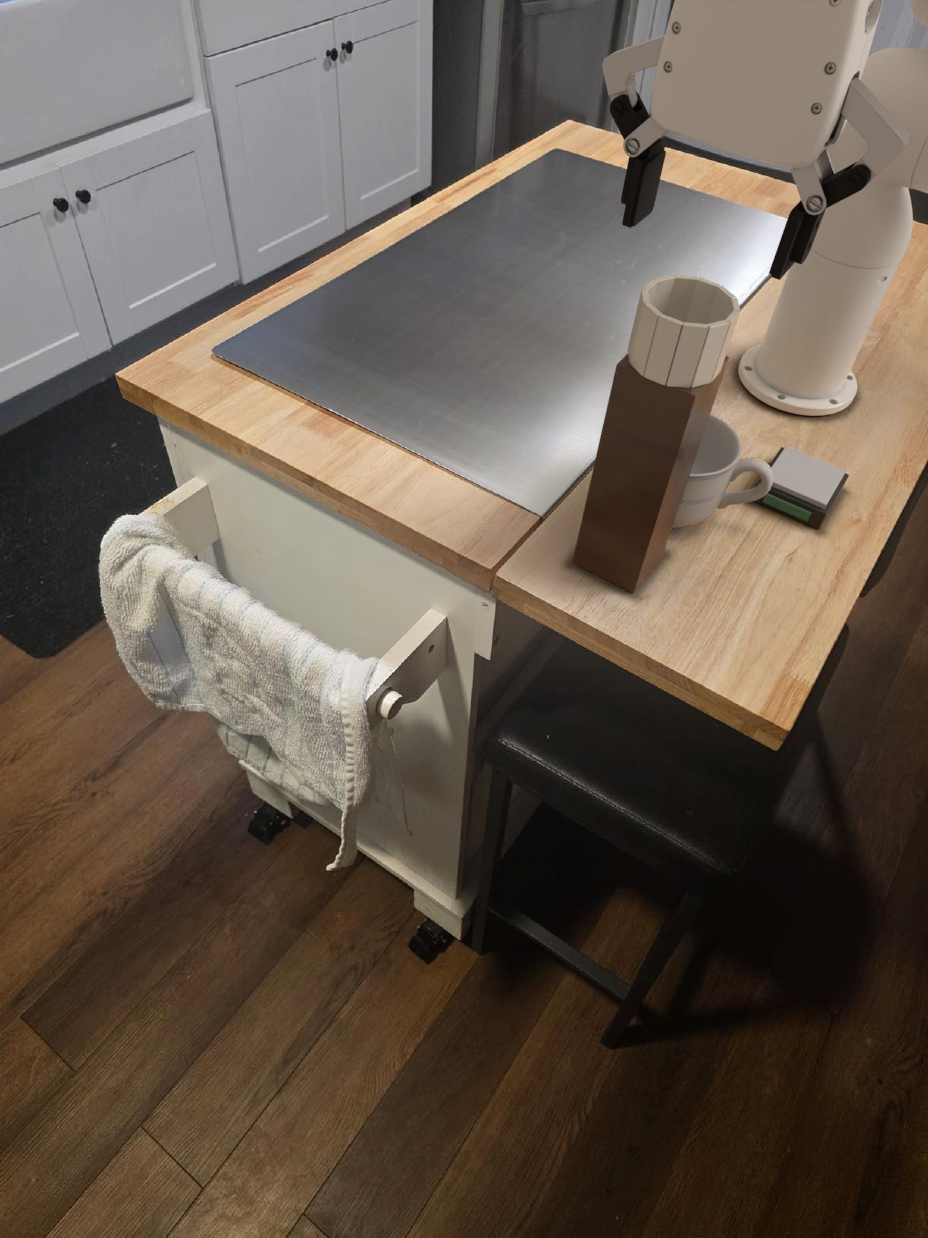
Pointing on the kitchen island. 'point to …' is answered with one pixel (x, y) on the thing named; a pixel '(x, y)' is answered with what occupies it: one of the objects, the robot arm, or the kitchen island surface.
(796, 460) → the scale
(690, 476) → the teacup
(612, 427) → the block
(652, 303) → the white faceted cup
